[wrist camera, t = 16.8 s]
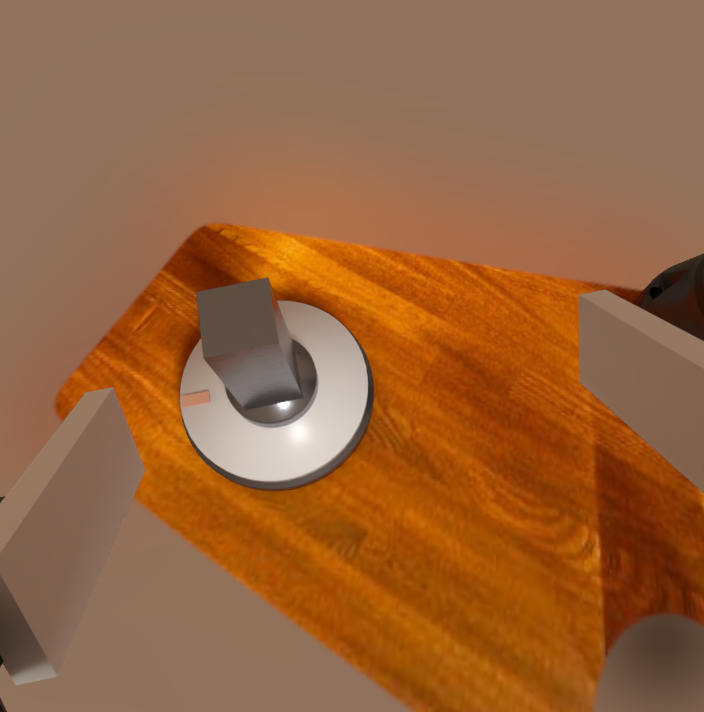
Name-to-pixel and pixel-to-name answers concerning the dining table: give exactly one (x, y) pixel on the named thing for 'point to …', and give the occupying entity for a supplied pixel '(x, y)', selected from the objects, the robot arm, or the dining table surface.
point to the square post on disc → (256, 354)
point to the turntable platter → (299, 439)
